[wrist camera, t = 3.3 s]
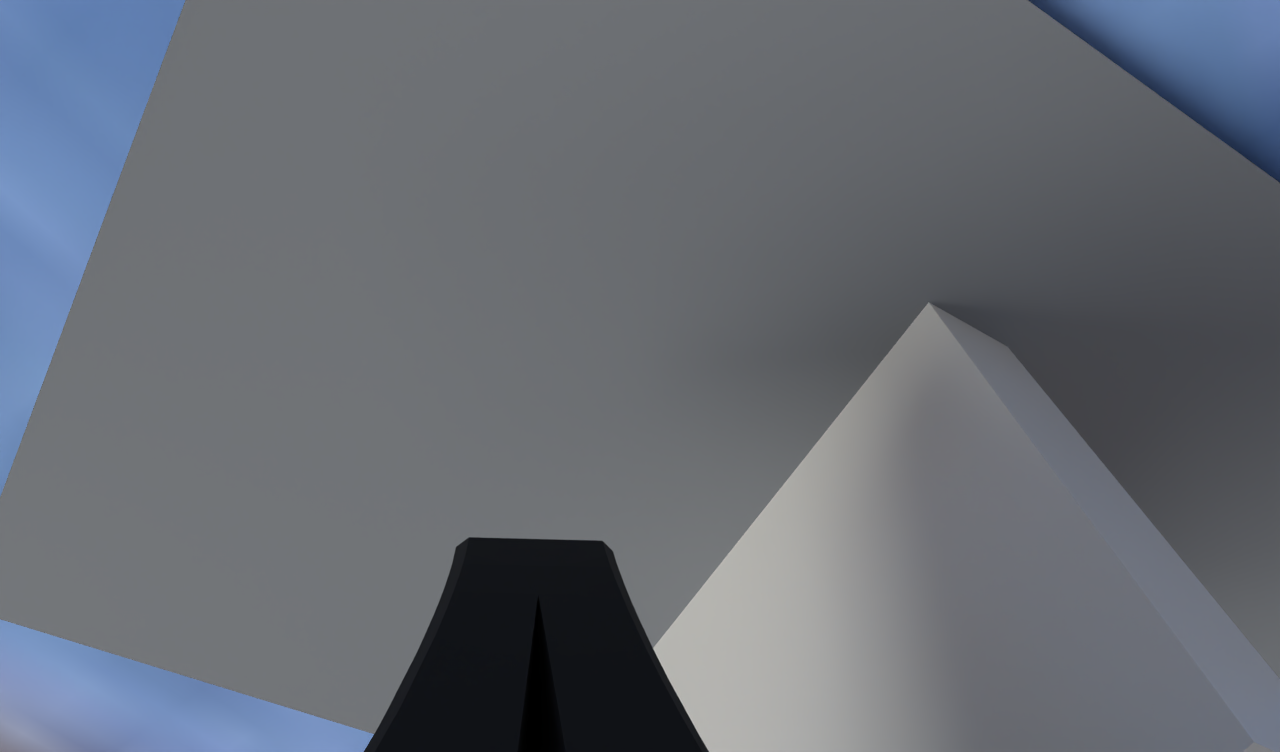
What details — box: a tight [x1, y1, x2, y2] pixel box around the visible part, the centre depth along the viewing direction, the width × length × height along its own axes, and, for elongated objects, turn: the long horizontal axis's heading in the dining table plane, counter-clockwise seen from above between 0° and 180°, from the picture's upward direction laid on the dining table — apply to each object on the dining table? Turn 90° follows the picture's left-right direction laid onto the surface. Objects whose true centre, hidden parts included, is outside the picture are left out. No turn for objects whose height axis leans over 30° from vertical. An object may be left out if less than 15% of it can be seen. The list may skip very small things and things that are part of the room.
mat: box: [0, 0, 1280, 734], centre depth 15 cm, size 20×14×1 cm
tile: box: [653, 302, 1280, 752], centre depth 12 cm, size 2×7×7 cm, turn 149°
